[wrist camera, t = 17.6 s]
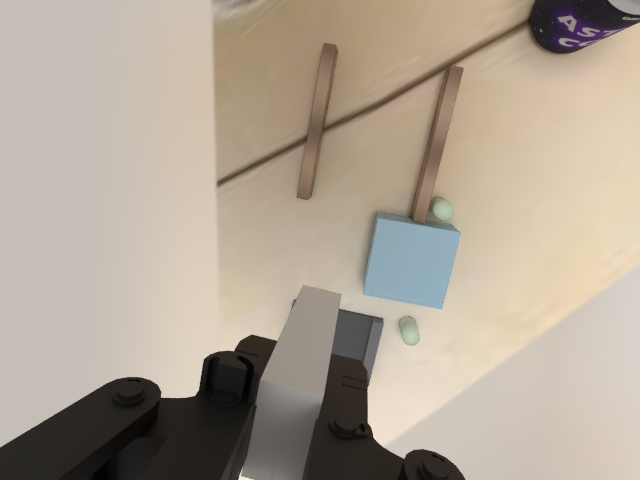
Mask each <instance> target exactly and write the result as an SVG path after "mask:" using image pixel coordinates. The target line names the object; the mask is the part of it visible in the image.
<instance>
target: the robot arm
mask: <svg viewBox="0 0 640 480" xmlns="http://www.w3.org/2000/svg"><path fill="white" fill-rule="evenodd" d="M340 299H341V294H338V293H334V292H330V291H326V290H322V289H317V288H313V287H309V286H305V285H303V286H302V288H301V290H300V293H299V295H298V297H297V299H296V302H295V304H294V306H293V308H292V310H291V313H290V315H289V317H288V319H287V322H286V324H285V326H284V328H283V330H282V333H281V335H280V337H279V339H278V341H275V340H271V339H267V338H263V337H259V336H255V335H250V336H248V337H246V338H244V339H243V340H241V341H240V342H239V344H238V345H237V347H236V348H235V351H234V352H233V351H221V352H216V353H214V354H211V355H209V356H208V357H206V358H205V359H204V362H203V369H202V375H201V381H200V387H199V391H198V392H197V394H196V396H193V397H188V398H161V390H160V389H159V387H158V385H157V384H155V383H154V382H152V381H150V380H147V379H144V378H139V377H138V378H137V377H127V378H121V379H116V380H114V381H112V382H109V383H107V384H105V385H103V386H102V387H100V388H98V389H97V390H95V391H94V392H92V393H90V394H89V395H87V396H85V397H84V398H82V399H80V400H78V401H77V402H75V403H74V404H72V405H70V406H68V407H67V408H65V409H64V410H62V411H60V412H59V413H57V414H55V415H54V416H52V417H50V418H49V419H47V420H45V421H44V422H42V423H40V424H39V425H37V426H35V427H34V428H32V429H30V430H29V431H27V432H25V433H24V434H22V435H20V436H19V437H17V438H15V439H14V440H12V441H10V442H9V443H7V444H5V445H4V446H2V447H1V448H0V480H238V478H239V475H240V472H241V470H242V474H241V476H243V477H247V478H251V479H254V480H465V478H464V476H463V475H462V473H461V472H460V471H459V469H458V468H457V467H456V465H454V464H453V463H452V462H451V461H449V460H448V459H447V458H446V457H444V456H441V455H439V454H438V453H435V452H432V451H428V450H424V449H421V450H413V451H411V452H409V453H408V454H406V457H405V459H403V458H401V457H399V456H397V455H395V454H393V453H391V452H390V451H388V450H387V449H385V448H383V447H382V446H381V445H380V444H379V443H378V442H376V440H375V439H374V438H373V433H372V430H371V427H370V425H369V424H368V404H367V369H366V368H365V366H364V365H363V363H362V361H361V360H357V359H353V358H349V357H344V356H340V355H336V354H332V353H331V351H332V345H333V339H334V334H335V328H336V322H337V316H338V310H339V304H340ZM242 467H243V469H242Z"/></svg>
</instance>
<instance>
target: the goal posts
mask: <svg viewBox="0 0 640 480" xmlns="http://www.w3.org/2000/svg"><path fill="white" fill-rule="evenodd" d="M429 208H430V211H431V212H432V213H433V214H434V215H435V216H436V217H437V218H438V219H440V220H447V219H449V218H450V217H451V216H452V215H453V213H454V208H453V206H452V205H451V204H450V203H449V202H447V201H446V200H444V199H443V198H439V197H438V198H434V199H433V200H432V201H431V202H430V205H429ZM400 329H401V334H402V339H403V342H404V343H405V344H407V345H410V346H412V345H415V344H417V343H418V342H419V340H420V335H419V332H418V328H417V325H416V321H415V320H414V319H413V318H412V317H404V318H402V319H401V321H400Z"/></svg>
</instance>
